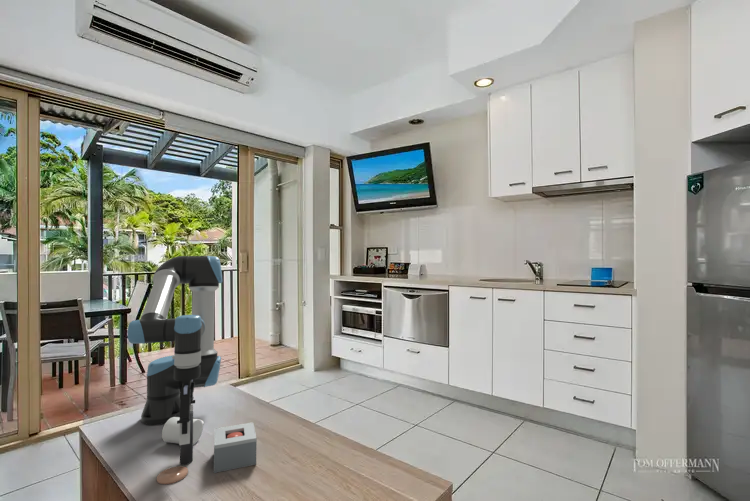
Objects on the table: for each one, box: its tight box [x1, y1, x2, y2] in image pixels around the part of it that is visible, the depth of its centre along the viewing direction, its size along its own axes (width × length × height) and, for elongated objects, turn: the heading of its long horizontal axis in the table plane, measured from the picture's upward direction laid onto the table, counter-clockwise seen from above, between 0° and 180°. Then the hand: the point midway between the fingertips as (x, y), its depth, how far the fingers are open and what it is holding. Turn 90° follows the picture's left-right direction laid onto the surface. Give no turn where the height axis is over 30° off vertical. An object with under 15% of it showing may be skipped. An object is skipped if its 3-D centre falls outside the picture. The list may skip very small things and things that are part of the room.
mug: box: [161, 417, 205, 446], centre depth 130 cm, size 12×10×8 cm
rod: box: [179, 410, 194, 466], centre depth 115 cm, size 4×4×15 cm
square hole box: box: [213, 421, 258, 474], centre depth 117 cm, size 12×12×8 cm
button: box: [227, 432, 243, 438], centre depth 117 cm, size 5×5×3 cm
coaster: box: [156, 465, 189, 485], centre depth 108 cm, size 8×8×1 cm
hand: (186, 434), depth 115 cm, fingers open, 13 cm apart
